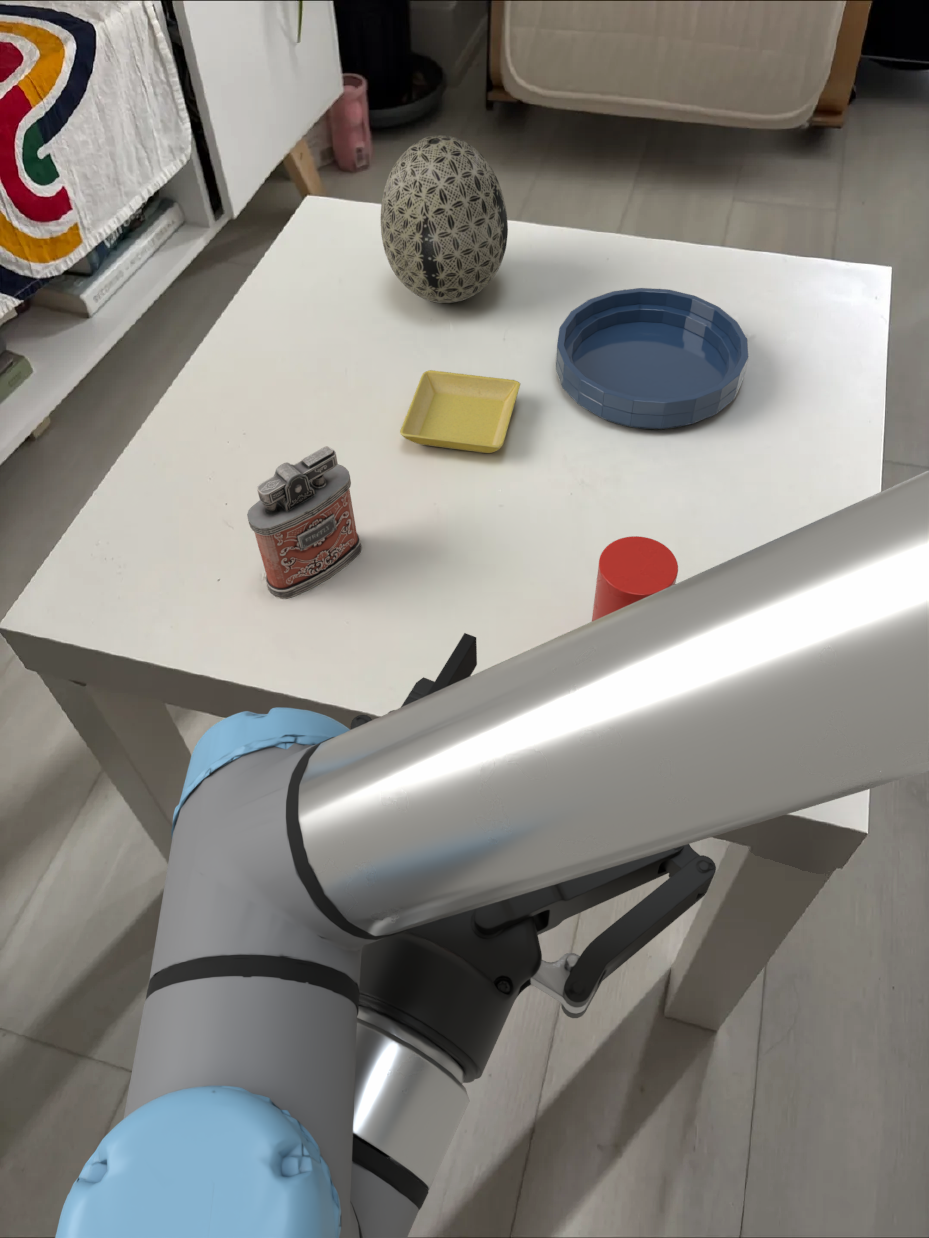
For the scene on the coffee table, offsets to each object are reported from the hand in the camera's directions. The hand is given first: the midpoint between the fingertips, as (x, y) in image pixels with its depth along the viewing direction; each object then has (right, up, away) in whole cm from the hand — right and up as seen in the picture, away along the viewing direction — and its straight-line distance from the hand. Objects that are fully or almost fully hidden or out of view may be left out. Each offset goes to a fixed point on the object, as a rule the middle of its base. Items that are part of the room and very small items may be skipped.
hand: (579, 689), depth 55 cm
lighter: (-18, +8, +18) cm, 27 cm away
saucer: (-7, +20, +28) cm, 35 cm away
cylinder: (+4, +1, +12) cm, 13 cm away
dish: (+10, +26, +31) cm, 42 cm away
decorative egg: (-8, +36, +40) cm, 54 cm away
